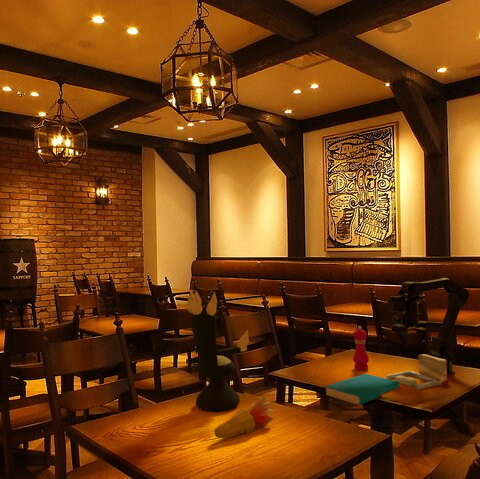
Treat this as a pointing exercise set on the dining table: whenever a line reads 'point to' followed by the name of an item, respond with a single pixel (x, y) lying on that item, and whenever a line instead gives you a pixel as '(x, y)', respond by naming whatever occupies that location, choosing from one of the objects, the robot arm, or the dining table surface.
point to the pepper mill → (360, 350)
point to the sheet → (433, 367)
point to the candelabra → (213, 357)
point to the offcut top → (406, 380)
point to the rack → (428, 384)
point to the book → (361, 388)
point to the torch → (245, 420)
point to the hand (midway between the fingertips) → (411, 346)
